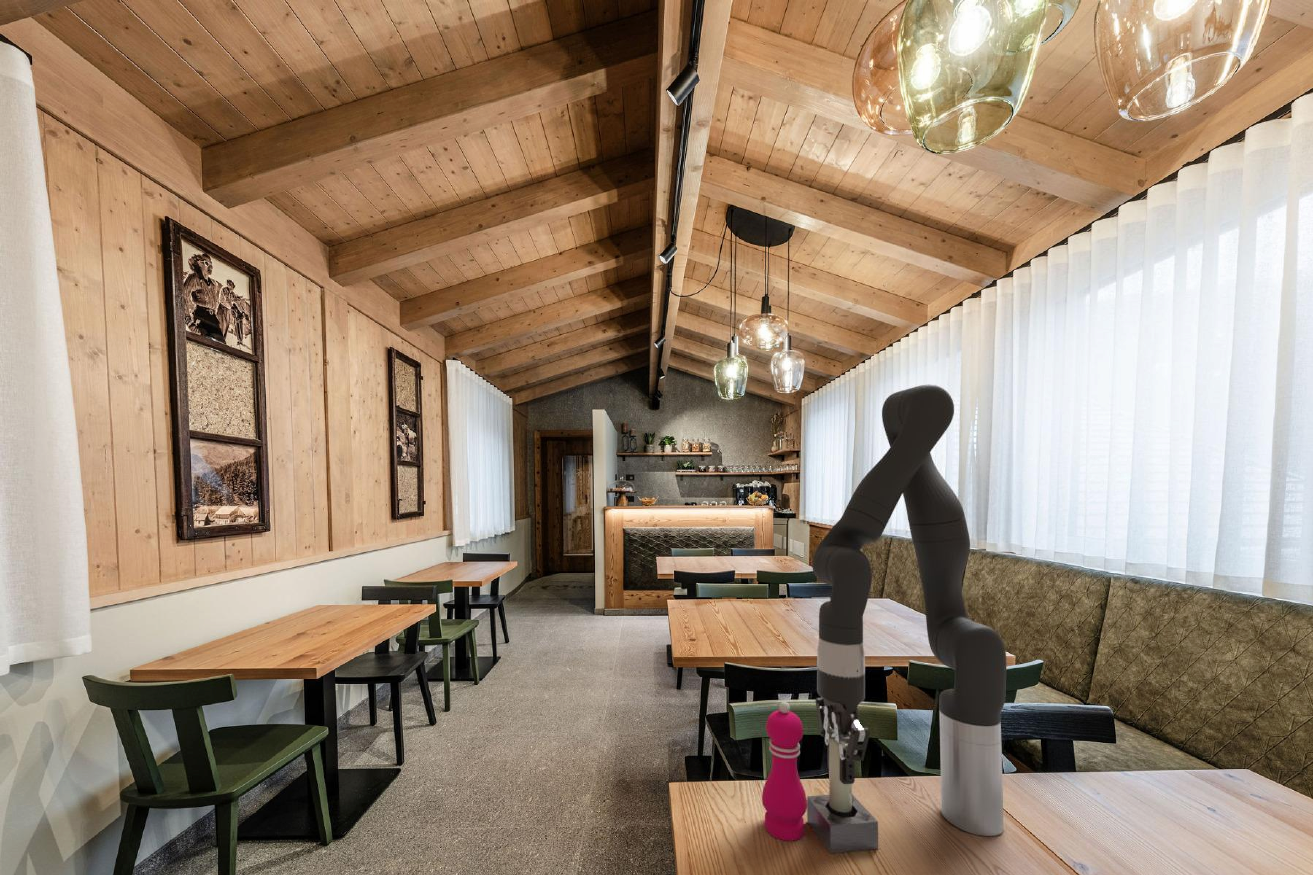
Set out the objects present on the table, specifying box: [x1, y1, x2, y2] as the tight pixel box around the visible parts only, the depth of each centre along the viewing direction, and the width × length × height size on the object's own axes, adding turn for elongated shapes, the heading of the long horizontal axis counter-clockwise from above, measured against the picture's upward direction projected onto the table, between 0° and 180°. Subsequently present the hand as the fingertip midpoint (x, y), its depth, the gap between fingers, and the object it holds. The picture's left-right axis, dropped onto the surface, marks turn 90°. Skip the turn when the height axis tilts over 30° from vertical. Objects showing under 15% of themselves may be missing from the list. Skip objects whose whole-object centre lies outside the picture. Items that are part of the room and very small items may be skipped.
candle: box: [828, 737, 853, 812], centre depth 88 cm, size 4×4×10 cm
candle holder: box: [806, 793, 879, 854], centre depth 88 cm, size 8×8×4 cm
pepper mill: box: [761, 701, 807, 842], centre depth 90 cm, size 7×7×20 cm
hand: (840, 775), depth 89 cm, fingers closed on candle, 3 cm apart
